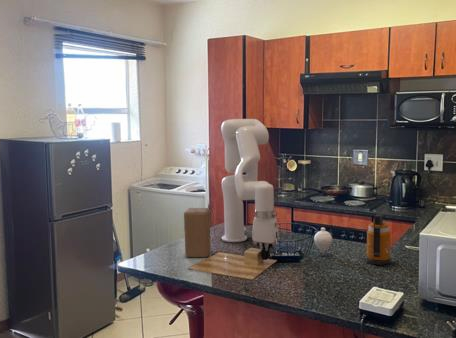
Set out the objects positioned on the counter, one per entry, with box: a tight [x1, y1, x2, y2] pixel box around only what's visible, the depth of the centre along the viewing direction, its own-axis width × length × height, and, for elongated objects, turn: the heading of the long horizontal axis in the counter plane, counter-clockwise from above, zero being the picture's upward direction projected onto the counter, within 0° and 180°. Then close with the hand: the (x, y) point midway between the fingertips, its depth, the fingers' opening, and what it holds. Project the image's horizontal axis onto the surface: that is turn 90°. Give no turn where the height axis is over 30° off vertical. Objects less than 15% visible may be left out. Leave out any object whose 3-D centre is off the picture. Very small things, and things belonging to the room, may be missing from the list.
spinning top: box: [313, 227, 333, 256], centre depth 192 cm, size 8×8×12 cm
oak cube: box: [243, 247, 264, 266], centre depth 184 cm, size 6×6×5 cm
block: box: [183, 207, 212, 258], centre depth 196 cm, size 10×10×20 cm
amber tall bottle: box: [366, 213, 391, 266], centre depth 180 cm, size 9×11×20 cm
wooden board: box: [188, 251, 278, 280], centre depth 182 cm, size 24×28×1 cm
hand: (265, 258), depth 182 cm, fingers closed
